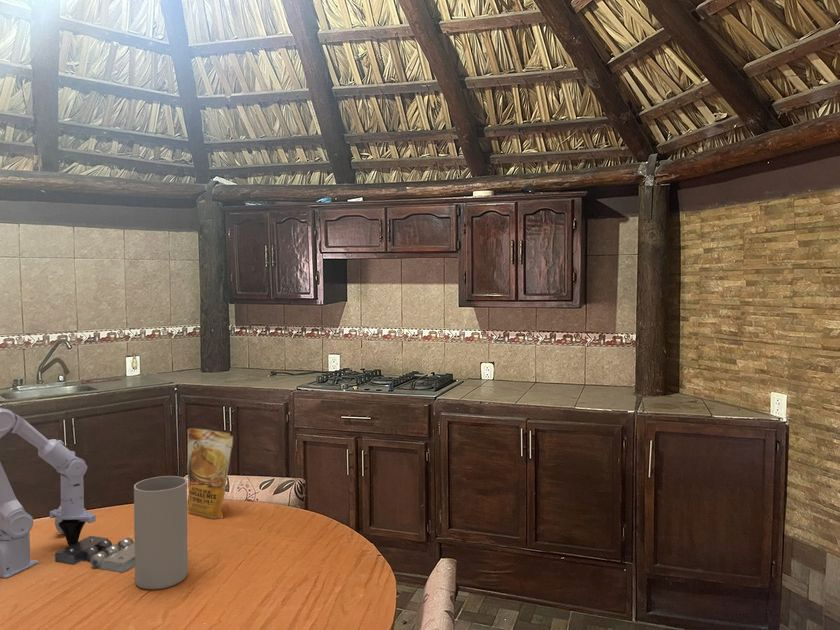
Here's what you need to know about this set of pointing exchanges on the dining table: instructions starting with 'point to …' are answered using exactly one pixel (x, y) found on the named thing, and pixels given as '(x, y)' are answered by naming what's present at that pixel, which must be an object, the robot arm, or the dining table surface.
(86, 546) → the gunmetal leaf
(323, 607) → the dining table surface
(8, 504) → the robot arm
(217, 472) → the pancake mix bag
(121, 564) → the steel leaf
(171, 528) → the cylinder vase
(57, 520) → the donut
